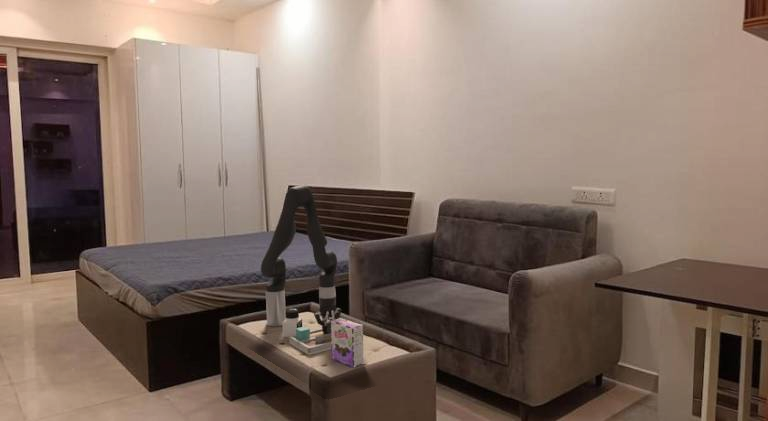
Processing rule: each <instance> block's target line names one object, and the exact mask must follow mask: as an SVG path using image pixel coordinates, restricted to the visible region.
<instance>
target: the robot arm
mask: <svg viewBox="0 0 768 421" xmlns="http://www.w3.org/2000/svg"><path fill="white" fill-rule="evenodd" d="M299 207H303V209H304V210H305V213H306V233H307V234H306V235H307V236H308V239H309V242H310V244H311V247H312V253H313V259H314V262H315V264H316V266H317V267H318V268H319V269H321V270H322V272H321V273H320V274H319V276H318V283H319V285H318V286H319V287H318V288H319V289H318V300H319V302H318V303H319V310H318V311H317V312H314V313H313V317H314V318H315V321H316V322H317V324H318V325H319V326H321V328H322V332H323V333H325V334H327V326H326V323H327V321H329V320H330V321H332V320H335V319H338V318H341V317H340V316H341V314H342V311H343V310H342V309H341V308H339V307H337V306H336V305H337V294H336V293H337V292H336V284H335V283H336V281H335V279H336V278H335V276H336V271H337V266H338V257H337V255H336V254H335V252H333V251H331V250H329V251H327V250H326V246H327V245H328V241H327V238H326V236H325V233H324V231H323V228H322V226H321V223H320V219H319V216H318V211H317V207H316V202H315V197H314V196H313V192H312V190H311V188H310V187H309V186H308V185H305V184H304V185H303V184H302V185H296V186H293V187H290V188H288V190H287V191H286V193H285V196H284V199H283V205H282V209H281V213H280V216H279V219H278V221H277V225H276V227H275V230H274V233H273V236H272V239H271V241H270V244H269V246H268V249H267V251H266V253H265V255H264V257H263V259H262V262H261V265H260V273H261V275H262V276H263V277H264V278H267V279H270V278H271V280H270V281H269V282H267V283H266V285H265V303H266V304H265V305H266V308H265V310H266V312H265V313H266V325H267V326H269V327H281V326H282V327H283V325H282V323H283V322H284V321H285V320H286V314H285V312H286V311H287V310H286V296H285V295H286V294H285V292H286V291H285V290H286V289H285V288H286V281H287V280H286V279H287V277H286V276H287V266H286V262H285V260H284V258H283V257H281V255H282V253H284V252H285V251H286V250H287V249H288V248H289V246H290V245H291V244H292V242H293V240H294V239H295V238H294V237H295V236H296V235H295V234H296V232H297V226H296V222H295V215H296V212H297V210H298V208H299Z"/></svg>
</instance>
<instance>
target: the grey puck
mask: <svg viewBox="0 0 768 421" xmlns="http://www.w3.org/2000/svg"><path fill="white" fill-rule="evenodd" d="M315 342H316V344H322V343H324V335H321V334H319V335H316V336H315Z"/></svg>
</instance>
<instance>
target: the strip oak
mask: <svg viewBox="0 0 768 421" xmlns="http://www.w3.org/2000/svg"><path fill="white" fill-rule="evenodd" d="M326 326H327V334H331V321H330V319H328V320H327V323H326ZM319 334H321V335H327V334H325V333H323V332H317V333H313V334H310V339H311V338H315V336H316V335H319ZM295 339H296V338H295ZM297 340H298V339H297ZM299 341H300V340H299Z"/></svg>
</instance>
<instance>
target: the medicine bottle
mask: <svg viewBox="0 0 768 421" xmlns="http://www.w3.org/2000/svg"><path fill="white" fill-rule="evenodd" d="M285 311H286V312H285V314H286V320H285V321H284V322H283V323H282V337H283V338H289V336H291V335H295V334H296V328H300V327H303V318H300V316H299V309H296V308H289V309H287V310H285Z"/></svg>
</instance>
